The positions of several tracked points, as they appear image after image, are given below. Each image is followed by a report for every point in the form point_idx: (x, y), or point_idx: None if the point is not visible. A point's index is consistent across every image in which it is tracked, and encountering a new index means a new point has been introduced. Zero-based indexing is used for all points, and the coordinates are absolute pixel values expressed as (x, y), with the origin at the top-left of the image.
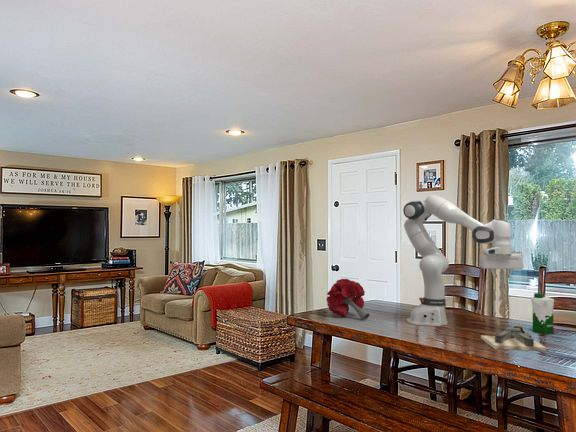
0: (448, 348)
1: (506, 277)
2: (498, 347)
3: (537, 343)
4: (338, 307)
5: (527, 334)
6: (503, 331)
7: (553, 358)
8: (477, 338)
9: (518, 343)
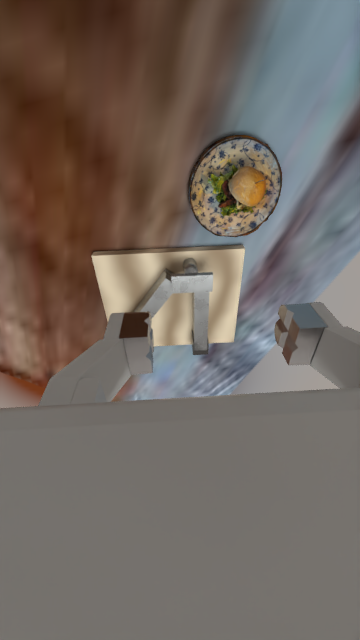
0: (11, 359)
1: (281, 308)
2: None
3: (232, 312)
4: None
5: (276, 181)
6: (156, 290)
7: (216, 375)
8: (82, 252)
9: (180, 322)
